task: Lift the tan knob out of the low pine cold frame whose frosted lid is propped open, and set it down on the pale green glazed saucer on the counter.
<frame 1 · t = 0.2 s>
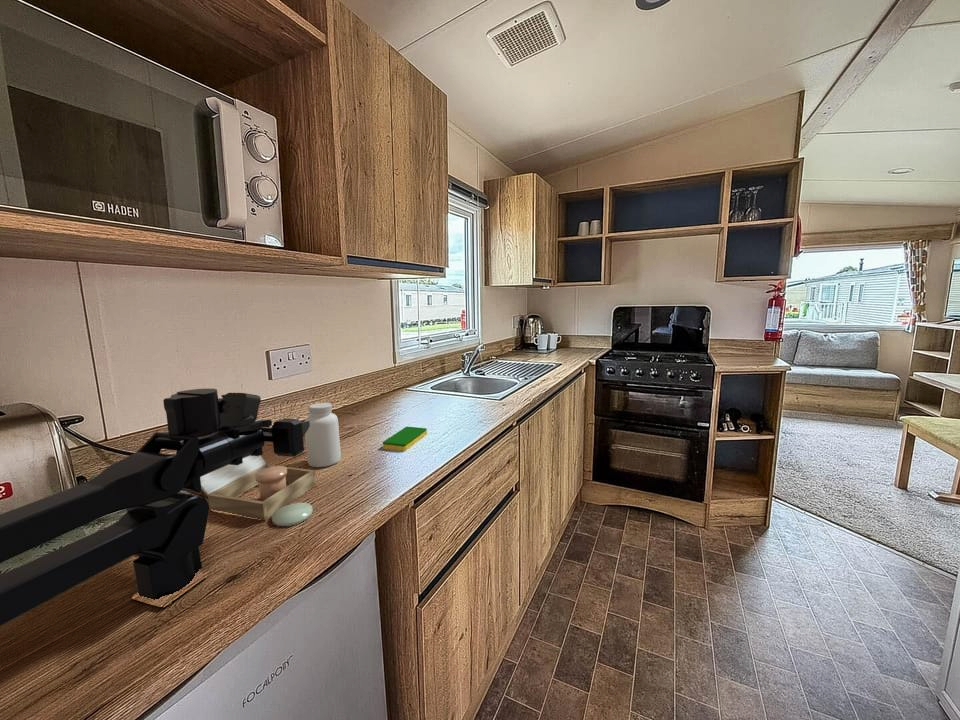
hand: (289, 422, 77), 17 cm above the countertop, tool horizontal, fingers open, 9 cm apart
pill bottle: (324, 462, 98), on the countertop
dish sponge: (406, 443, 111), on the countertop
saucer: (292, 516, 73), on the countertop
tan knob: (274, 498, 80), resting in cold frame
cold frame: (266, 497, 81), on the countertop
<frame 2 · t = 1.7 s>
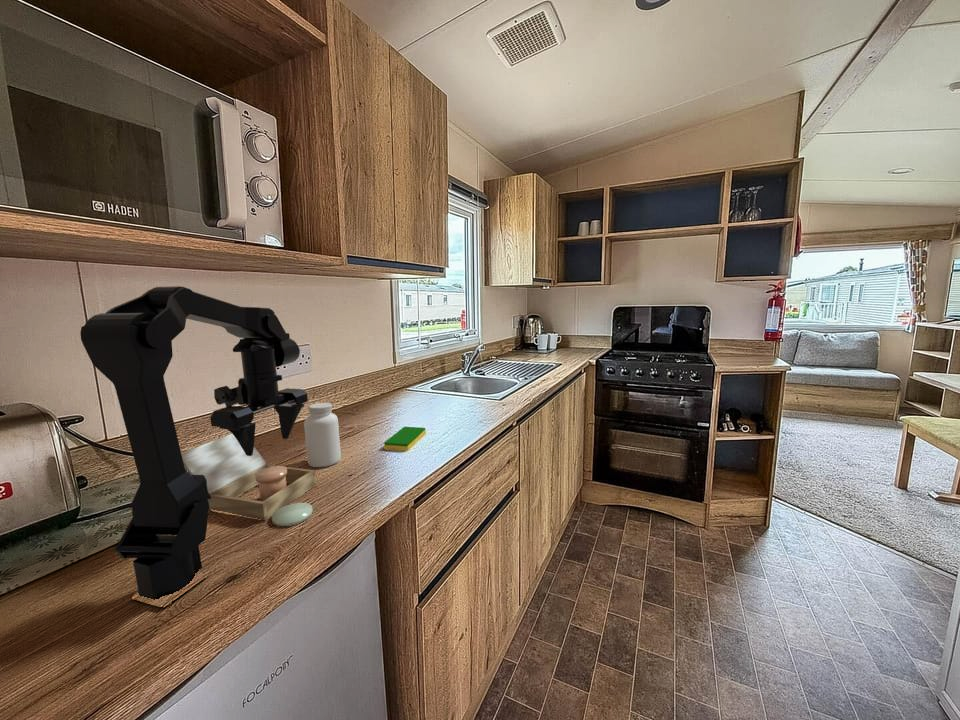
hand: (268, 446, 78), 11 cm above the countertop, tool pointing down, fingers open, 9 cm apart
nothing on the countertop moved.
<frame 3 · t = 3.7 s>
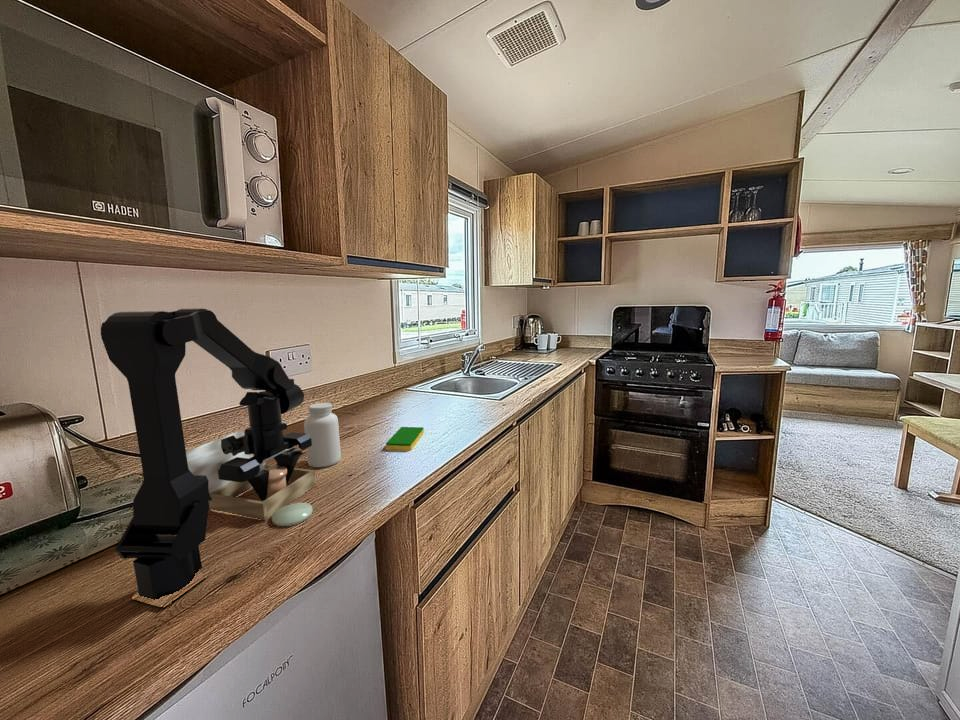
hand: (273, 493, 80), 1 cm above the countertop, tool pointing down, fingers closed on tan knob, 5 cm apart
tan knob: (274, 498, 80), resting in cold frame, touching gripper
everything else where it was.
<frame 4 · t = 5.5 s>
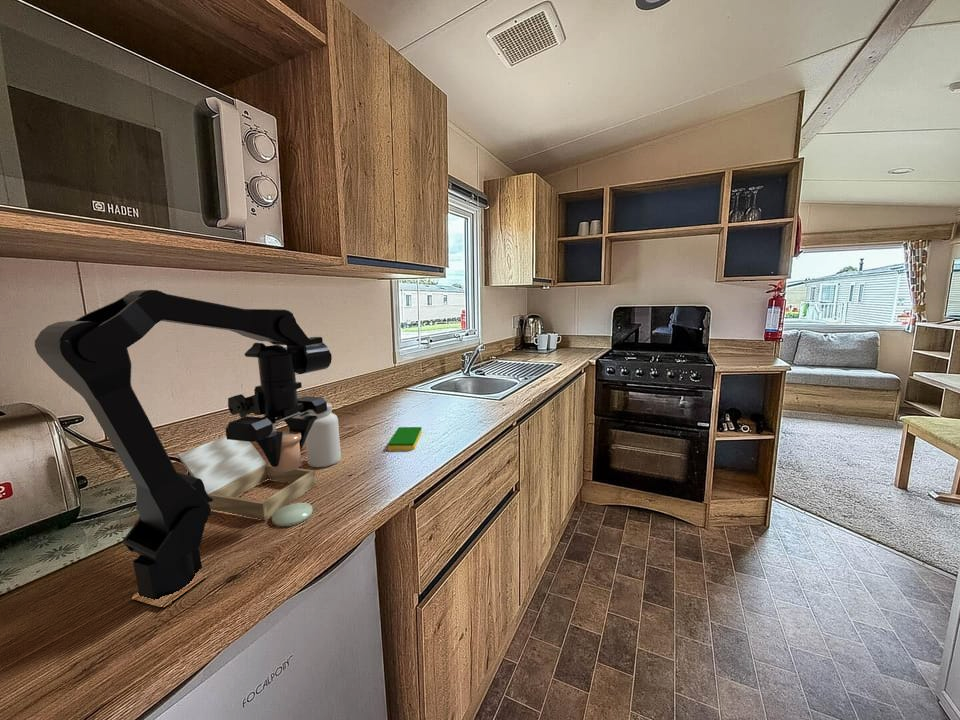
hand: (286, 460, 72), 11 cm above the countertop, tool pointing down, fingers closed on tan knob, 5 cm apart
tan knob: (286, 466, 72), point 10 cm above the countertop, touching gripper
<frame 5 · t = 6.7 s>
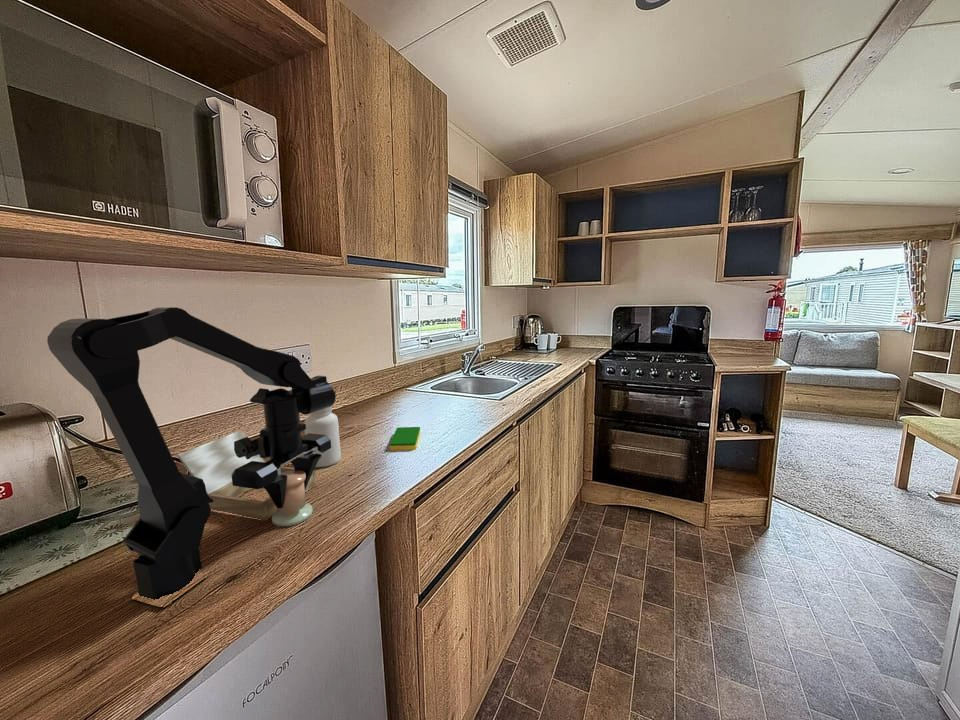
hand: (291, 500, 73), 3 cm above the countertop, tool pointing down, fingers closed on tan knob, 5 cm apart
tan knob: (291, 506, 73), point 2 cm above the countertop, touching gripper
when the fingers open (3 cm above the countertop, at t = 7.6 s): tan knob stays where it is, resting on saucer.
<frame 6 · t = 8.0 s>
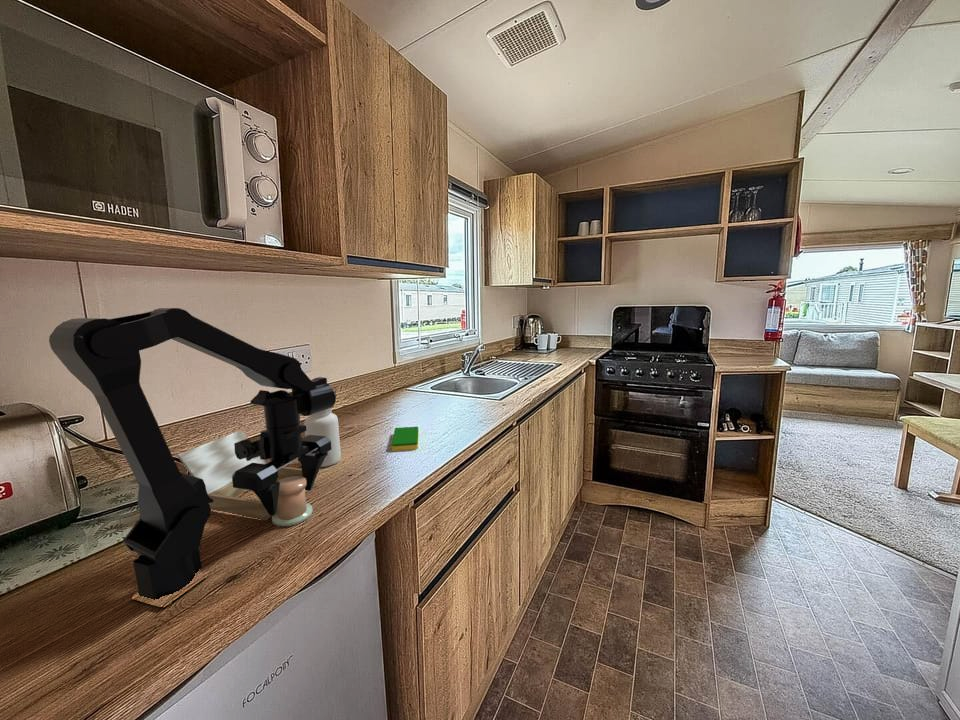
hand: (291, 501, 73), 3 cm above the countertop, tool pointing down, fingers open, 9 cm apart
tan knob: (292, 512, 73), point 1 cm above the countertop, touching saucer
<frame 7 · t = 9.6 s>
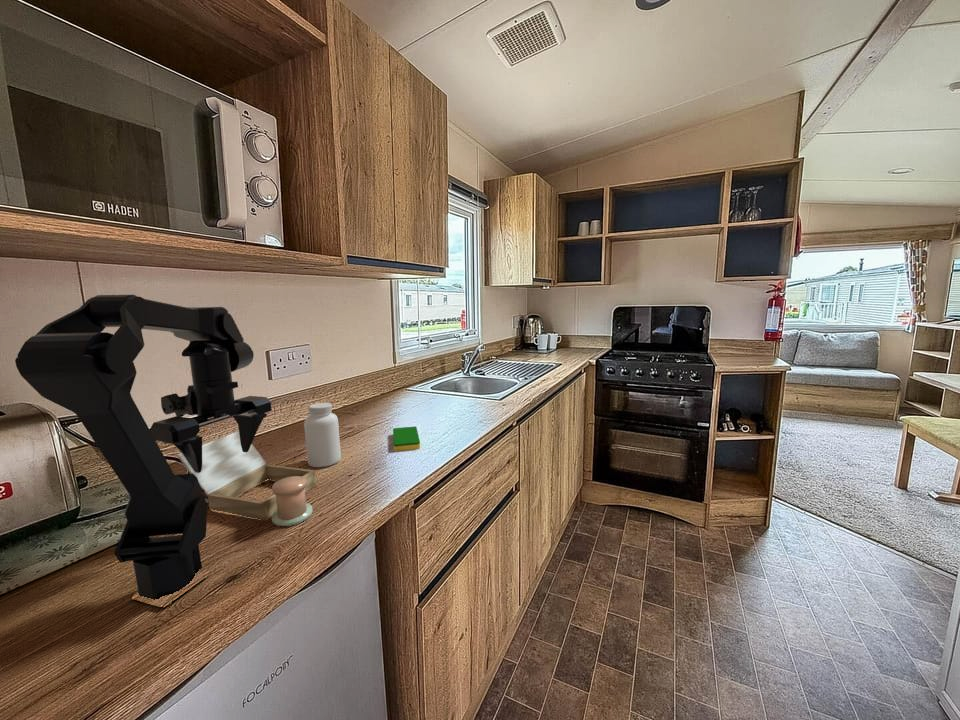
hand: (223, 461, 70), 12 cm above the countertop, tool pointing down, fingers open, 9 cm apart
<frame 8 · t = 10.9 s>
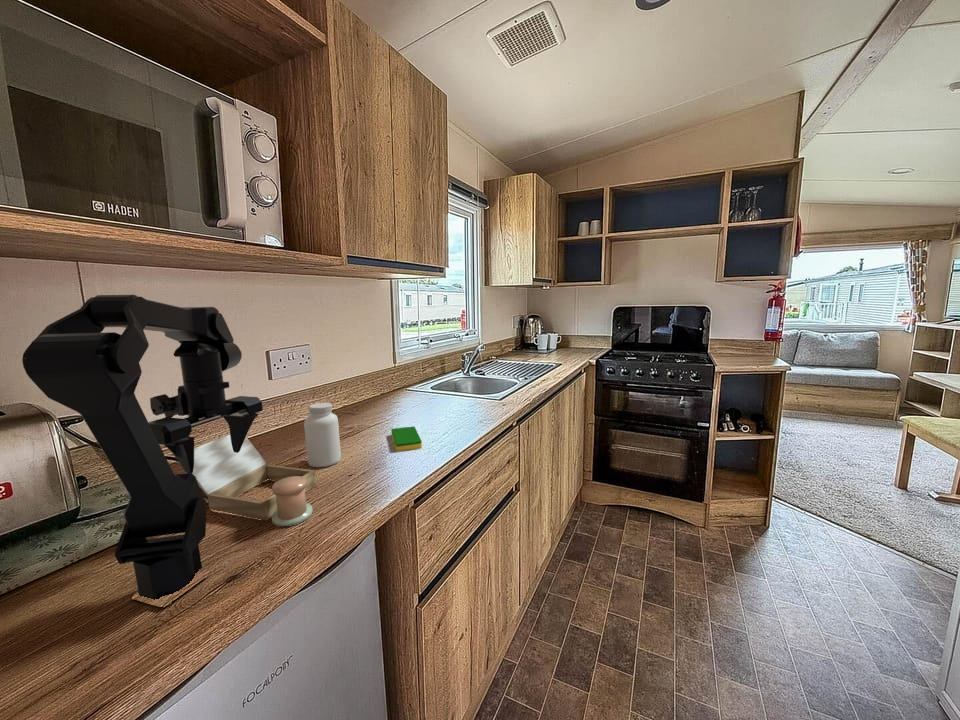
hand: (214, 461, 70), 12 cm above the countertop, tool pointing down, fingers open, 9 cm apart
at the end: tan knob 0.0 cm from the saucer (horizontally); tan knob point 0.8 cm above the countertop; tan knob tilted 0° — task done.
